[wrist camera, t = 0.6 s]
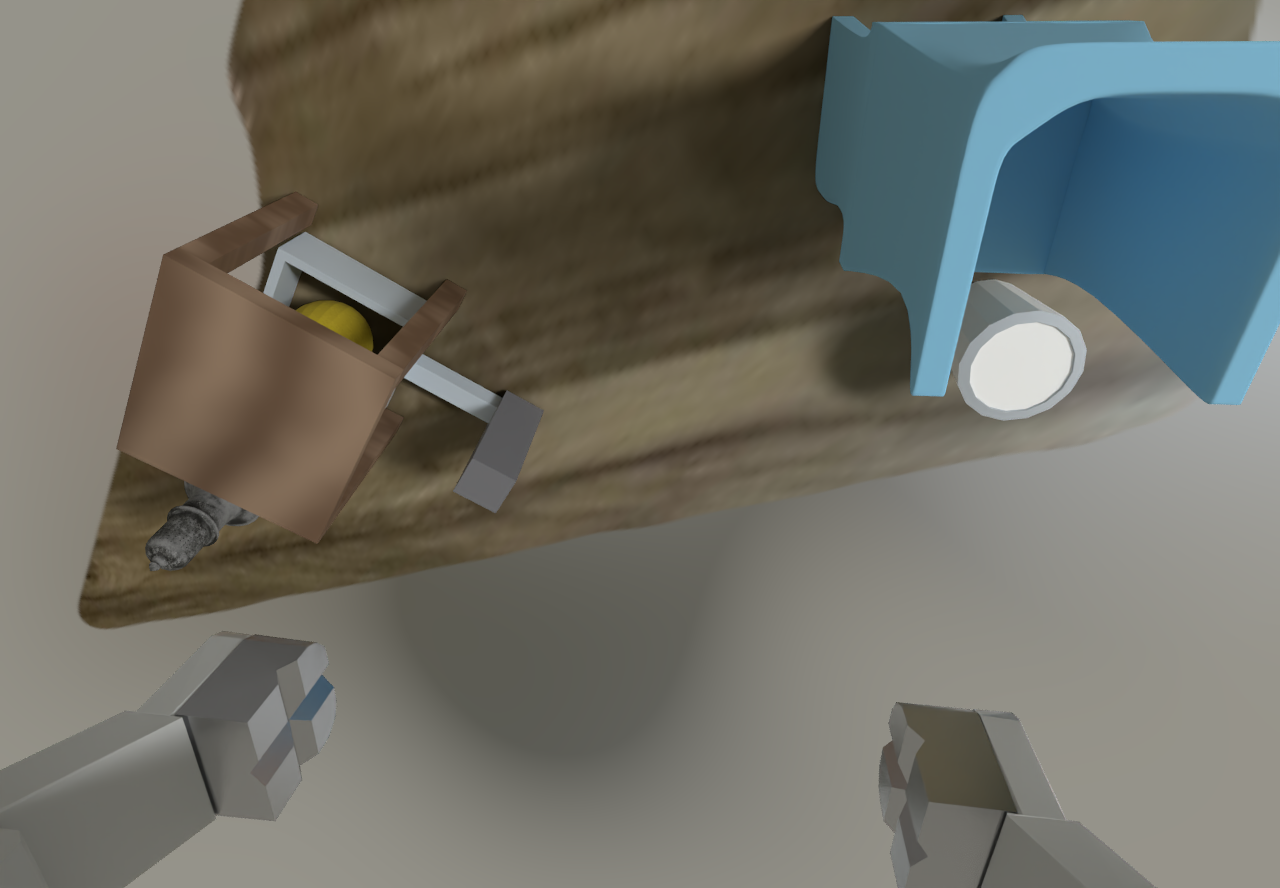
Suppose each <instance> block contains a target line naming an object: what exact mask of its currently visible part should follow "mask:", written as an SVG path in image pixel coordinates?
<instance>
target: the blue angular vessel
mask: <svg viewBox="0 0 1280 888" xmlns="http://www.w3.org/2000/svg"><path fill="white" fill-rule="evenodd" d="M815 179H816V186H817V189H818V191H819V192H820V194H821V195H822V196H823V197H824V199H825V200H826V201H828V202H830V203H832V204H835V205H837V206H838V207H839V208H840V210H841V212H842V214H843V220H844V231H843V239H842V246H841V253H840V260H839V262H840V264H841V266H842V268H843V270H844V271H854V272H862V273H867V274H871V275H875V276H878V277H880V278H882V279H884V280H887V281H889V282H890V283H891V284H892V285H893V286H894V287H895V288H896V289H897V290H898V291H900V292H901V295H902V297H903V300H904V302H905V305H906V307H907V310H908V316H909V323H910V330H911V375H910V391H911V394H912V395H913V396H944V394H945V391H946V387H947V383H948V379H949V375H950V371H951V366H952V362H953V358H954V354H955V350H956V346H957V341H958V337H959V333H960V329H961V325H962V320H963V316H964V312H965V308H966V304H967V300H968V295H969V291H970V287H971V283H972V279H973V275H974V272H991V273H1016V274H1048V275H1053V276H1057V277H1060V278H1063V279H1066V280H1068V281H1070V282H1072V283H1074V284H1076V285H1078V286H1079V287H1081V288H1082V289H1084V290H1085V291H1087V292H1088V293H1090V294H1091V295H1093V296H1094V297H1095V298H1097V299H1098V300H1099V301H1100V302H1101V303H1102V304H1104V305H1105V306H1106V307H1107V308H1108V309H1109V310H1111V311H1112V312H1113V313H1114V314H1115V315H1116V316H1117V317H1118V318H1120V319H1121V320H1122V321H1123V322H1124V323H1125V324H1126V325H1127V326H1128V327H1129V328H1130V329H1131V330H1132V331H1133V332H1134V333H1135V334H1136V335H1137V336H1139V337H1140V338H1141V339H1142V340H1143V341H1144V342H1145V343H1146V344H1147V345H1148V346H1149V347H1150V348H1151V349H1152V350H1153V351H1154V352H1155V353H1156V354H1157V355H1158V356H1159V357H1160V358H1161V359H1162V360H1163V362H1164V363H1165V364H1166V365H1167V366H1168V367H1169V368H1170V369H1171V370H1172V371H1173V372H1174V373H1175V374H1176V375H1177V376H1178V377H1179V378H1180V379H1181V380H1182V381H1183V382H1184V383H1185V384H1186V385H1187V386H1188V387H1189V388H1190V389H1191V390H1192V391H1193V392H1194V393H1195V394H1196V395H1197V396H1198V397H1199V398H1201V399H1202V400H1203V401H1204V402H1206V403H1208V404H1230V405H1240V404H1241V403H1242V401H1243V398H1244V396H1245V394H1246V392H1247V390H1248V388H1249V386H1250V384H1251V382H1252V380H1253V378H1254V376H1255V374H1256V372H1257V370H1258V367H1259V365H1260V363H1261V361H1262V359H1263V357H1264V355H1265V353H1266V351H1267V349H1268V347H1269V345H1270V343H1271V341H1272V339H1273V336H1274V334H1275V332H1276V330H1277V328H1278V326H1279V324H1280V41H1218V42H1153V40H1152V39H1151V36H1150V34H1149V32H1148V29H1147V27H1146V25H1145V23H1144V21H1026V20H1025V18H1024V17H1023V15H1003V19H1002V22H872V28H871V31H870V30H869V29H868V28H866V27H865V26H864V25H863V24H862V23H860V22H859V21H858V20H857V19H856V18H855V17H853V16H832V24H831V33H830V41H829V50H828V59H827V68H826V77H825V86H824V94H823V103H822V112H821V121H820V130H819V139H818V148H817V157H816V172H815Z"/></svg>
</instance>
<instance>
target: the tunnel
mask: <svg viewBox="0 0 1280 888" xmlns="http://www.w3.org/2000/svg"><path fill="white" fill-rule="evenodd" d="M317 207H318V204H316V203H315V202H313V201H311V200H309V199H308V198H306V197H304V196H302V195H301V194H299V193H297V192H294V193H292V194H290V195H288V196H286V197H284V198H282V199H280V200H277V201H275V202H273V203H271V204H269V205H267V206H265V207H263V208H261V209H258V210H256V211H254V212H252V213H250V214H248V215H246V216H244V217H242V218H240V219H238V220H235V221H234V222H231V223H229V224H227V225H225V226H223V227H221V228H218V229H216V230H214V231H212V232H210V233H208V234H206V235H204V236H202V237H200V238H198V239H195V240H193V241H191V242H189V243H187V244H185V245H183V246H181V247H179V248H176V249H174V250H172V251H170V252H168V253H166V254H164V255H163V258H162V262H161V266H160V271H159V275H158V279H157V283H156V287H155V291H154V296H153V300H152V304H151V308H150V312H149V317H148V320H147V324H146V328H145V332H144V337H143V341H142V345H141V349H140V353H139V357H138V361H137V366H136V370H135V374H134V378H133V383H132V386H131V390H130V395H129V399H128V403H127V407H126V411H125V415H124V420H123V423H122V428H121V432H120V436H119V440H118V444H117V448H116V449H118V450H120V451H122V452H124V453H126V454H128V455H130V456H133V457H135V458H137V459H139V460H141V461H143V462H145V463H147V464H150V465H152V466H154V467H156V468H158V469H160V470H162V471H164V472H166V473H169V474H171V475H173V476H175V477H177V478H179V479H181V480H183V481H186V482H188V483H190V484H192V485H194V486H196V487H198V488H200V489H202V490H205V491H207V492H209V493H211V494H213V495H215V496H217V497H219V498H222V499H224V500H226V501H228V502H230V503H232V504H234V505H236V506H239V507H241V508H243V509H245V510H247V511H249V512H251V513H253V514H255V515H258V516H260V517H262V518H264V519H266V520H268V521H270V522H272V523H275V524H277V525H279V526H281V527H283V528H285V529H287V530H289V531H291V532H294V533H296V534H298V535H300V536H302V537H304V538H306V539H308V540H311V541H313V542H315V543H317V544H318V542H319V541H320V539H321V538H322V537H323V535H324V534H325V532H326V531H327V530H328V528H329V527H330V525H331V524H332V523H333V521H334V520H335V518H336V517H337V516H338V514H339V513H340V511H341V510H342V509H343V507H344V506H345V504H346V503H347V501H348V500H349V499H350V497H351V496H352V494H353V493H354V492H355V490H356V489H357V487H358V486H359V485H360V483H361V482H362V480H363V479H364V478H365V476H366V475H367V473H368V472H369V471H370V469H371V468H372V466H373V465H374V464H375V462H376V461H377V459H378V458H379V456H380V455H381V454H382V452H383V451H384V449H385V448H386V447H387V445H388V444H389V442H390V441H391V440H392V438H393V437H394V435H395V434H396V433H397V431H398V429H399V427H400V425H401V423H402V421H403V419H404V417H402V416H400V415H398V414H396V413H394V412H392V411H390V410H389V409H387V408H386V405H387V403H388V401H389V399H390V397H391V395H392V393H393V391H394V389H395V388H396V387H397V386H398V384H399V383H400V382H401V381H402V379H403V378H404V377H405V375H406V374H407V373H408V372H409V370H410V369H411V368H412V367H413V365H414V364H415V363H416V362H417V360H418V359H419V358H420V357H421V355H422V354H423V353H424V352H425V350H426V349H427V348H428V347H429V345H430V344H431V343H432V341H433V340H434V339H435V338H436V336H437V335H438V334H439V333H440V331H441V330H442V329H443V328H444V326H445V325H446V324H447V323H448V321H449V320H450V319H451V318H452V316H453V315H454V314H455V313H456V311H457V310H458V309H459V307H460V305H461V303H462V301H463V299H464V297H465V295H466V293H467V290H465V289H463V288H461V287H460V286H458V285H456V284H454V283H453V282H451V281H449V280H448V279H447V280H446V281H445V282H444V283H443V284H442V285H441V286H440V287H439V288H438V289H437V291H436V292H435V293H434V294H433V295H432V296H431V297H430V298H429V299H428V300H427V301H426V302H425V304H424V305H423V306H422V307H421V308H420V309H419V310H418V311H417V312H416V313H415V314H414V316H413V317H412V318H411V319H410V320H409V321H408V322H407V323H406V324H405V325H404V326H403V328H402V329H401V330H400V331H399V332H398V333H397V334H396V335H395V336H394V337H393V338H392V340H391V341H390V342H389V343H388V344H387V345H386V346H385V347H384V348H383V349H382V350H381V352H380V353H379V354H378V355H377V354H375V353H373V352H371V351H369V350H367V349H366V348H364V347H362V346H360V345H358V344H356V343H354V342H353V341H351V340H349V339H347V338H345V337H343V336H342V335H340V334H338V333H336V332H334V331H332V330H330V329H329V328H327V327H325V326H323V325H321V324H319V323H318V322H316V321H314V320H312V319H310V318H308V317H306V316H305V315H303V314H301V313H299V312H297V311H295V310H294V309H292V308H290V307H288V306H286V305H284V304H282V303H281V302H279V301H277V300H275V299H273V298H271V297H270V296H268V295H266V294H264V293H262V292H260V291H258V290H257V289H255V288H253V287H251V286H249V285H247V284H246V283H244V282H242V281H240V280H238V279H236V278H234V277H233V276H231V275H229V274H227V273H229V272H230V271H232V270H234V269H236V268H237V267H239V266H241V265H243V264H244V263H246V262H248V261H249V260H251V259H253V258H255V257H256V256H258V255H260V254H262V253H263V252H265V251H267V250H269V249H270V248H272V247H274V246H275V245H277V244H279V243H281V242H282V241H284V240H286V239H288V238H289V237H291V236H293V235H295V234H296V233H298V232H300V231H301V230H303V229H305V228H307V227H308V226H310V225H311V224H312V222H313V219H314V216H315V213H316V210H317Z"/></svg>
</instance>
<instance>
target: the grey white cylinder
mask: <svg viewBox="0 0 1280 888" xmlns="http://www.w3.org/2000/svg"><path fill="white" fill-rule="evenodd" d="M1086 351H1087V349H1086V346H1085V343H1084V341H1083V338H1082V335H1081V332H1080V330H1079V329H1078V328H1077V327H1075V326H1074V325H1073V324H1072V323H1071V322H1070V321H1069V320H1067V319H1066V318H1065V317H1064V316H1062V315H1061V314H1059V313H1057V312H1056V311H1054V310H1053V309H1051V308H1049V307H1048V306H1046V305H1045V304H1043V303H1041V302H1040V301H1038V300H1036V299H1035V298H1033V297H1032V296H1030V295H1028V294H1027V293H1025V292H1024V291H1022V290H1020V289H1019V288H1017V287H1016V286H1014V285H1012V284H1010V283H1006V282H1003V281H999V280H995V279H993V280H985V281H977V282H974V283H972V284H971V287H970V291H969V295H968V300H967V304H966V308H965V312H964V316H963V320H962V325H961V329H960V333H959V337H958V341H957V346H956V350H955V354H954V358H953V362H952V366H951V370H952V372H953V375H954V377H955V380H956V382H957V384H958V387H959V389H960V391H961V393H962V396H963V398H964V400H965V402H966V403H967V404H968V405H969V406H970V407H972V408H973V409H974V410H976V411H977V412H978V413H979V414H981V415H983V416H987V417H991V418H995V419H999V420H1012V419H1022V418H1028V417H1031V416H1033V415H1035V414H1038V413H1040V412H1043V411H1045V410H1047V409H1050V408H1051V407H1053V406H1054V405H1055V404H1056V403H1058V402H1059V401H1060V400H1061V399H1062V398H1064V397H1065V396H1066V395H1067V394H1069V393H1070V392H1071V390H1072V389H1073V387H1074V385H1075V384H1076V382H1077V381H1078V379H1079V377H1080V376H1081V374H1082V373H1083V370H1084V364H1085V357H1086Z"/></svg>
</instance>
